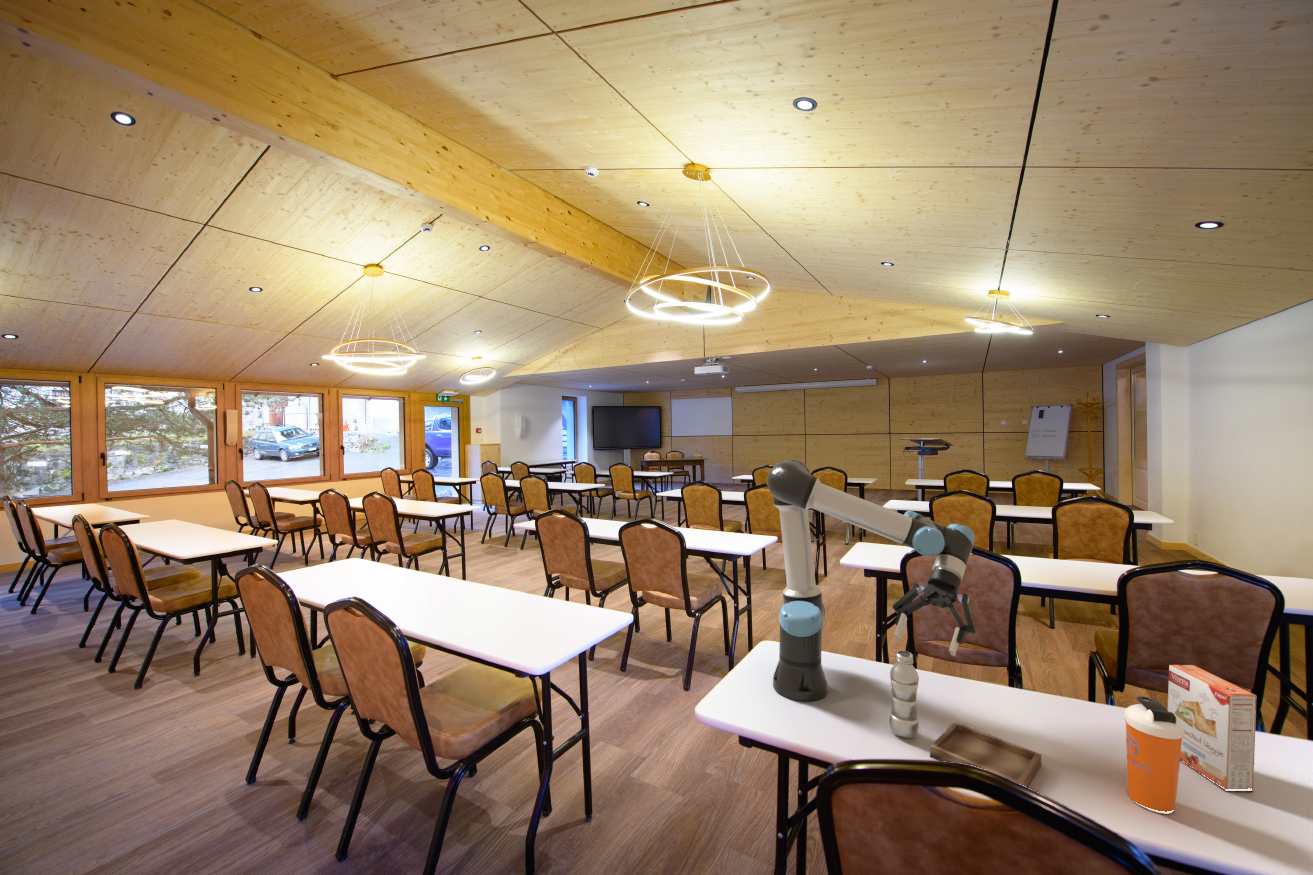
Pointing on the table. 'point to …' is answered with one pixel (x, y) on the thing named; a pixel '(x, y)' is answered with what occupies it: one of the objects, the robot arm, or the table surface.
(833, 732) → the table surface
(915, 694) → the plastic bottle
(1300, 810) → the table surface
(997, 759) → the walnut tray
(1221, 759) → the cracker box
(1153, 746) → the shaker bottle
